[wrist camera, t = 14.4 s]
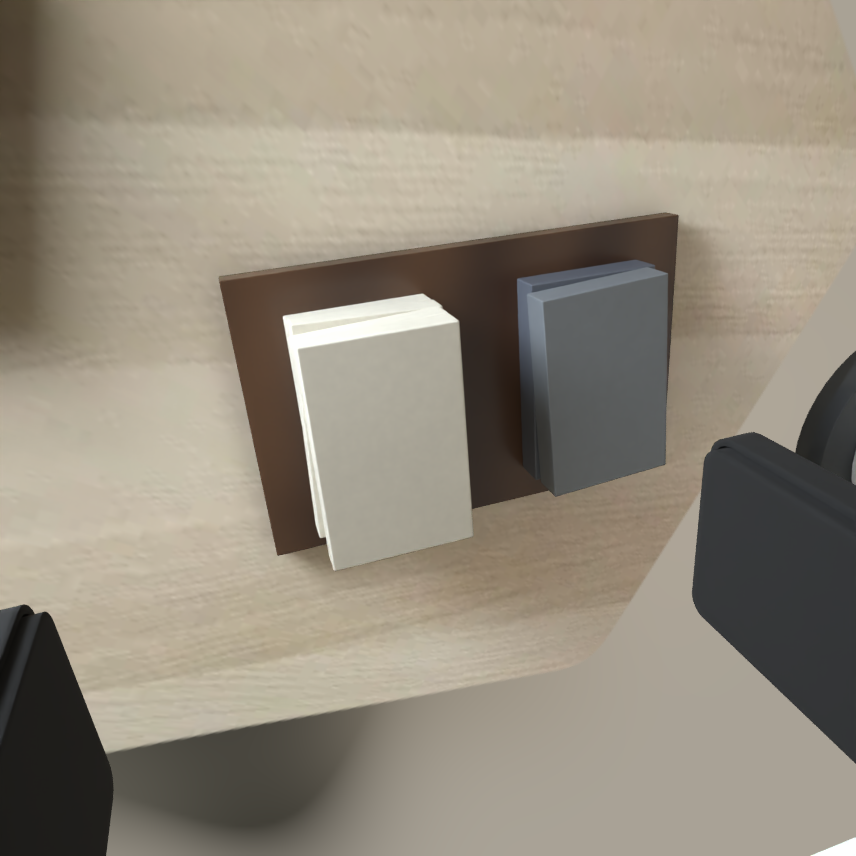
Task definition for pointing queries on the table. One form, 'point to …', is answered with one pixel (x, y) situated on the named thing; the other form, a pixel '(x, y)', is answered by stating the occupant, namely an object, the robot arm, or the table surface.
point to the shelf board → (479, 333)
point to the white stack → (342, 321)
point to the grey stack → (593, 373)
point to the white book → (387, 437)
